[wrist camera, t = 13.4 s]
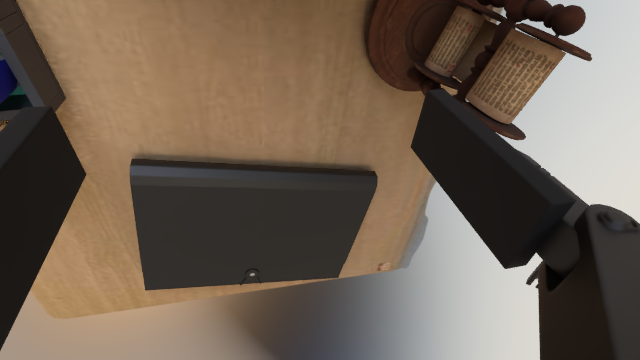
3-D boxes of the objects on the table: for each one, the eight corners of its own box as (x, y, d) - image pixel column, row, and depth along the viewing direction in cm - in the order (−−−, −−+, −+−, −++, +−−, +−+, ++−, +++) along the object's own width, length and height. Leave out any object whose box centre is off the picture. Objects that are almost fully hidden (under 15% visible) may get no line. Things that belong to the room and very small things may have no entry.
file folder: (144, 293, 51) (127, 171, 37) (149, 271, 54) (134, 151, 40) (338, 280, 62) (381, 181, 48) (332, 262, 65) (371, 165, 51)
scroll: (433, 95, 45) (538, 189, 30) (340, 64, 39) (414, 162, 24) (504, -21, 37) (693, 29, 22) (402, -82, 31) (566, -68, 16)
